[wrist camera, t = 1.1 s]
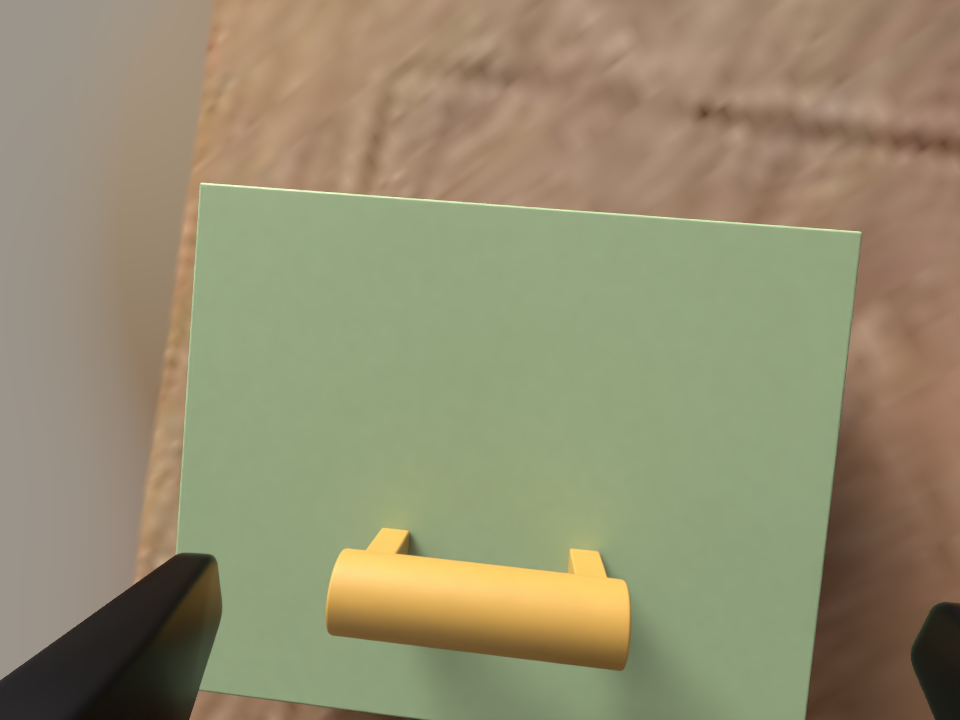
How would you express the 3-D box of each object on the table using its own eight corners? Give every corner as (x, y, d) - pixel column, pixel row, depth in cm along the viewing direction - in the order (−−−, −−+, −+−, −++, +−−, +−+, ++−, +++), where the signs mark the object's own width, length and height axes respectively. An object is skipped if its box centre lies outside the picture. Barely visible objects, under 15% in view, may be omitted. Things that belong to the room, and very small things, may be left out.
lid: (788, 751, 16) (894, 920, 11) (181, 672, 17) (53, 798, 12) (847, 236, 15) (985, 194, 10) (213, 188, 16) (91, 132, 12)
